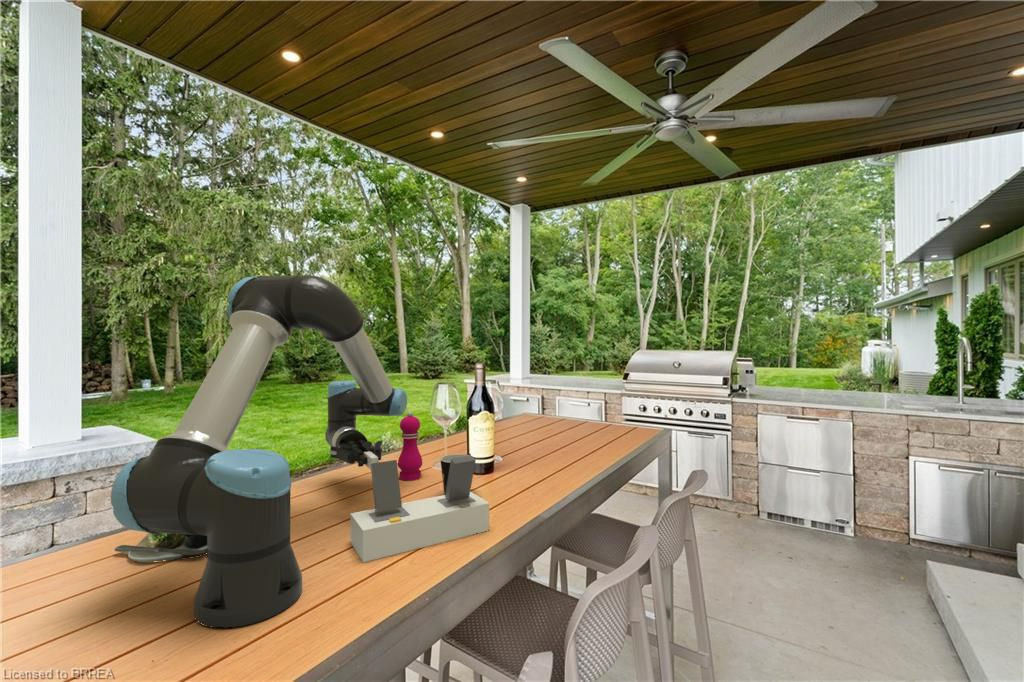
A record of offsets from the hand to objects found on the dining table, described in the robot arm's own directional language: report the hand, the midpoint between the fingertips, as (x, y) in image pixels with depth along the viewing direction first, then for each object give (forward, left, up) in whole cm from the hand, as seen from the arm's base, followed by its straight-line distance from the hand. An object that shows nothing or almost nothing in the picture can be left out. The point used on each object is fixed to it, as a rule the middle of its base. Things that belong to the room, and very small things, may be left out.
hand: (374, 463), depth 104 cm
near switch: (0, -10, -8) cm, 13 cm away
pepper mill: (+19, +31, -14) cm, 39 cm away
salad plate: (-35, +12, -15) cm, 40 cm away
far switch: (+15, -10, -8) cm, 20 cm away
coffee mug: (+25, +10, -14) cm, 30 cm away
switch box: (+7, -10, -14) cm, 19 cm away
